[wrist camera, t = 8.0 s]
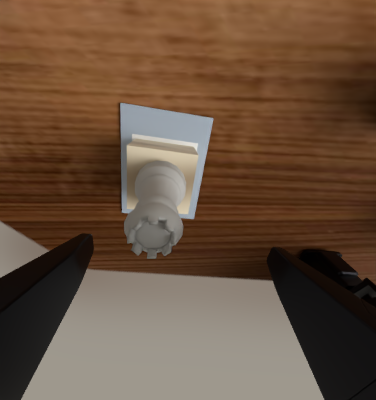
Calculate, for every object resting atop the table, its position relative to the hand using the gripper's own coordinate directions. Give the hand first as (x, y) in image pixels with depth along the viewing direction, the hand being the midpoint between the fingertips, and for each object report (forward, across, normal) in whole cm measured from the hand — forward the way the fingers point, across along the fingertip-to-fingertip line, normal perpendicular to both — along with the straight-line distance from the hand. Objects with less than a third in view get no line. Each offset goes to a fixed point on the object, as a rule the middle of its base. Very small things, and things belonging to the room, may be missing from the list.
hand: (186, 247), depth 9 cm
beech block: (+12, +2, 0) cm, 13 cm away
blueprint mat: (+13, +2, 0) cm, 13 cm away
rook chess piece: (+9, +2, 0) cm, 9 cm away
